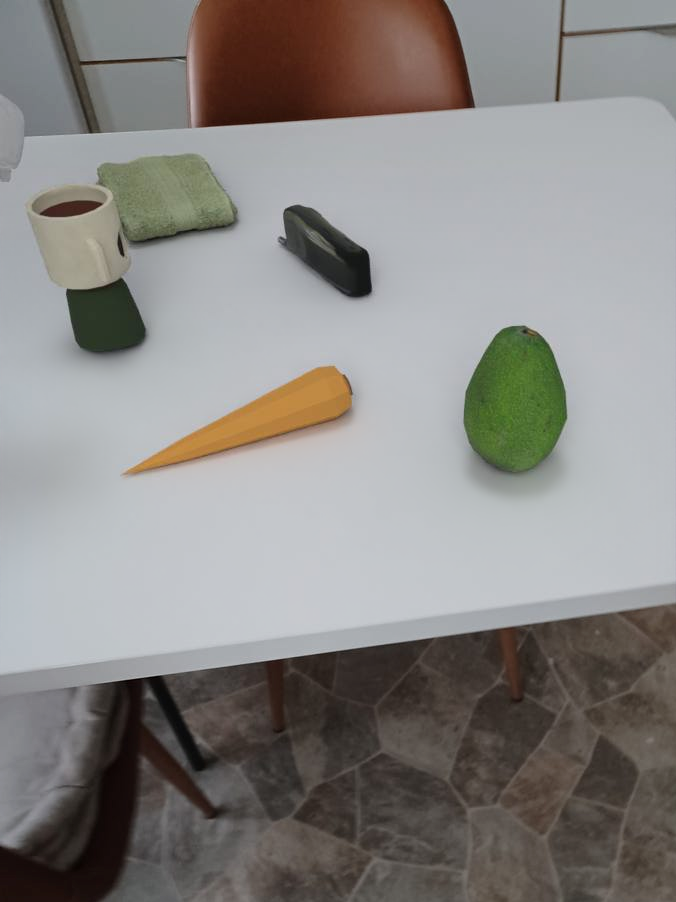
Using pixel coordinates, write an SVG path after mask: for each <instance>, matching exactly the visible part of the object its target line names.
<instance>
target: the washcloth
mask: <svg viewBox="0 0 676 902" xmlns="http://www.w3.org/2000/svg"><path fill="white" fill-rule="evenodd" d="M96 175H97V177H98V180H97V182H95V185H100V186H103V187H105V188H107V189H109V190H110V191H111V192H112V194H113V197H114V200H115V204H116V207H117V211H118V214H119V218H120V222H121V226H122V229H123V233H124V235H125V236H126V237H127V239H128V240H129V241H132V242H133V241H134V242H140V241H147V240H150V239H154V238H158V237H168V236H169V237H172V236H174V235H177V233H178V232H184V231H191V230H197V231H199V230H201V231H203V230H207V229H210V228H217V227H223V226H229V225H230V224H232V223H234V222H235V221H236V220H235V217H236V216H237V214H239V209H238V207H237V206H236V205H235V204H234V202H233V200H232V197H231V196H230V195H229V194H228V193H226V189H224V187H223V185H221V183H220V182H219V181H218V179H217V177H216V175H214V172H213V171H212V167H211V166H210V165H209V163H208V161H206V158H204V156H202V155H201V154H198V153H189V152H188V153H181V154H173V155H164V154H163V155H154V156H152V155H151V156H141V157H138V158H135V159H133V160H131V161H129V162H124V163H115V162H104V163H102V164H100V166H99V167H97V168H96Z"/></svg>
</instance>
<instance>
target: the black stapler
mask: <svg viewBox="0 0 676 902" xmlns="http://www.w3.org/2000/svg"><path fill="white" fill-rule="evenodd" d="M282 218H283V219H282V220H283V226H284V228H283V229H284V233H285V237H283V236H281V235H280V236H278V237H277V242H278V243H279V244H281V245H282V246H284V247H285V248H287V249H288V250H289V251H291V252H293V253H294V254H295V255H296V256H297V257H299V259H301V260H302V261H303V262H304V263H305V264H306V265H308V266H309V267H310V268H311V269H313V270H315V271H316V272H317V273H318V274H319V275H320V276H321V277H322V278H323V279H325V280H326V281H327V282H328V283H330V284H331V285H332V286H334V287H335V288H336V289H337V290H338V291H339V292H341V293H342V294H344V295H346V296H349V297H362V296H365V295H368V294H371V293H372V291H373V285H372V284H373V283H372V274H371V273H372V272H371V259H370V253H369V252H368V250H367V249H365V248H364V247H363V246H361V245H359V244H358V243H356V241H354V240H352V239H351V238H349V237H348V236H347V235H346V234H345V233H344V232H342V231H340V230H339V229H338V228H336V227H335V226H334V225H332V224H331V223H330V222H329V221H328V219H326V218H325V217H324V216H323V215H322V214H321V213H320V212H319V211H318V210H316V209H315V208H312V207H310V206H305V205H301V204H293V205H291V206H288V207H285V209H284V210H283V212H282Z"/></svg>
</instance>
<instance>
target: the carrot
mask: <svg viewBox="0 0 676 902" xmlns="http://www.w3.org/2000/svg"><path fill="white" fill-rule="evenodd" d="M353 394H354V392H353V388H352V384H351V383H350V380H349V378H348V377H347V376H346V374H345V373H344V374H342V373H341V372H340V371H339V369H338V368H337V367H336V366H335V365H328V366H318V367H315V368H313V369H311V370H309V371H307V372H306V373H303V374H302V375H300V376H298V377H296V378H294V379H292V380H291V381H288V382H287V383H285V384H283V385H281V386H279V387H277V388H275V389H273V390H271V391H269V392H268V393H265V394H264V395H261V396H260V397H257V398H256V399H254V400H252V401H251V402H248V403H247V404H245V405H243V406H240V407H239V408H237V409H235V410H233V411H232V412H229V413H227V414H225V415H224V416H222V417H220V418H218V419H216V420H214V421H212V422H211V423H208V424H207V425H205V426H203V427H201V428H199V429H197V430H195V431H193V432H192V433H190V434H188V435H186V436H184V437H182V438H180V439H179V440H176V441H175V442H173V443H172V444H170V445H168V446H167V447H165V448H163V449H162V450H160V451H158V452H157V453H155V454H153V455H152V456H150V457H148V458H147V459H145V460H143V461H141V462H140V463H138V464H137V465H134V466H132V468H129V469H128V470H127V471H125V472H123V473H121V474H120V476H125V475H130V474H135V473H137V472H143V471H147V470H151V469H156V468H159V467H163V466H164V467H165V466H169V465H172V464H178V463H181V462H186V461H191V460H194V459H198V458H201V457H205V456H208V455H211V454H215V453H219V452H223V451H227V450H230V449H234V448H236V447H240V446H244V445H248V444H251V443H255V442H258V441H261V440H262V441H263V440H266V439H269V438H273V437H276V436H279V435H283V434H287V433H290V432H294V431H298V430H300V429H304V428H308V427H312V426H315V425H318V424H321V423H322V424H323V423H325V422H330V421H333V420H336V419H337V418H339V417H340V416H342V415H343V414H344V413H345V412H347V411H348V410H350V409H351V407H352V405H353V403H352V396H353Z"/></svg>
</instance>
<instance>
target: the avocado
mask: <svg viewBox="0 0 676 902" xmlns="http://www.w3.org/2000/svg"><path fill="white" fill-rule="evenodd" d="M563 380H564V379H563V377H562V375H561V372H560V368H559V365H558V362H557V359H556V357H555V353H554V352H553V350H552V348H551V345H550V344H549V342H548V341H547V340H546V339H545V338H544V337H543V335H542V334H541V333H540V332H538V331H536V330H534V329H531V328H530V327H528V326H526V325H523V324H522V325H511V326H507V327H503V328H502V329H500V331H498V333H496V335H495V336H493V339H492V340H491V341H490V343H489V344H488V346H487V347H486V349H485V350H484V352H483V355H482V356H481V358H480V360H479V362H478V364H477V365H476V368H475V369H474V371H473V374H472V375H471V378H470V379H469V383H468V385H467V388H466V390H465V395H464V405H463V418H462V419H463V420H462V423H463V426H464V430H465V434H466V436H467V440H468V443H469V444H470V446H471V448H472V450H473V451H474V452H475V453H476V454H477V455H478V456H479V457H481V458H482V459H483V460H484V461H485V462H486V463H487V464H489V465H491V466H492V467H494V468H496V469H498V470H499V471H505V472H513V473H518V472H522V471H527V470H530V469H532V468H535V466H537V465H538V464H539V463H541V461H543V460H545V459H546V458H547V457H548V456H549V455H550V454H551V453H552V451H553V449H555V447H556V445H557V443H558V441H559V439H560V437H561V434H562V432H563V429H564V427H565V425H566V423H567V421H568V407H567V406H568V405H567V391H566V388H565V384H564V381H563Z"/></svg>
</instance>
